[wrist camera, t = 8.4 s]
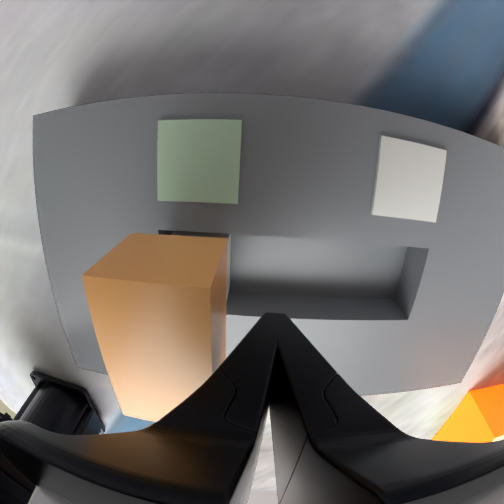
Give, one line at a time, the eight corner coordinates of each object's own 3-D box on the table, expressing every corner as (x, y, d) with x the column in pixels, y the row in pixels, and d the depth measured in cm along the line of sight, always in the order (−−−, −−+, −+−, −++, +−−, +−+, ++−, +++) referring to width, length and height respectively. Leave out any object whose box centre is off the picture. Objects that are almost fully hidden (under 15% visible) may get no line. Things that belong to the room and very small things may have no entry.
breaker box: (96, 338, 17) (75, 369, 14) (68, 115, 12) (30, 115, 9) (443, 355, 17) (461, 384, 14) (500, 153, 12) (536, 161, 9)
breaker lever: (175, 302, 14) (123, 414, 8) (170, 202, 13) (81, 275, 6) (235, 307, 14) (215, 430, 8) (239, 205, 13) (209, 287, 6)
